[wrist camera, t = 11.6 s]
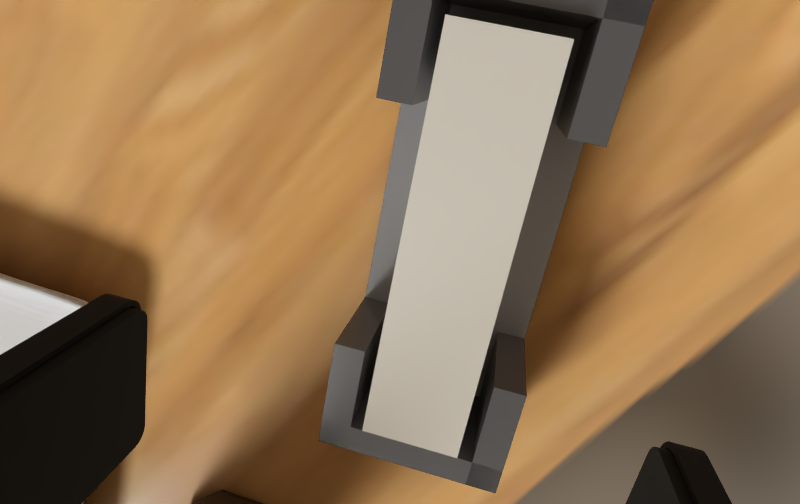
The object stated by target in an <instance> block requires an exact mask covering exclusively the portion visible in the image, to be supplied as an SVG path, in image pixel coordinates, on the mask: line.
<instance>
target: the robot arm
mask: <svg viewBox="0 0 800 504" xmlns="http://www.w3.org/2000/svg"><path fill="white" fill-rule="evenodd" d="M146 353H147V315H146V313H145V312H144V311H142V310H141V307H140V305H139V303H138V302H137V301H134V300H130V299H127V298H123V297H119V296H115V295H111V294H104V295H101V296H100V297H98V298H96V299H95V300H93V301H91V302H89V303H88V304H86V305H84V306H83V307H81V308H79V309H77V310H76V311H74V312H72V313H71V314H69V315H67V316H65V317H64V318H62V319H60V320H59V321H57V322H55V323H54V324H52V325H50V326H48V327H47V328H45V329H43V330H42V331H40V332H38V333H36V334H35V335H33V336H31V337H30V338H28V339H26V340H25V341H23V342H21V343H19V344H18V345H16V346H14V347H13V348H11V349H9V350H7V351H6V352H4V353H2V354H1V355H0V504H81V503H82V502H83V501H84V500H85V499H86V498H87V497H88V496H89V495H90V494H91V493H92V492H93V491H94V490H95V489H96V488H97V487H98V486H99V485H100V483H101V482H102V481H103V480H104V479H105V478H106V477H107V476H108V475H109V474H110V473H111V472H112V471H113V470H114V469H115V468H116V467H117V466H118V465H119V463H120V462H121V461H122V460H123V459H124V458H125V457H126V456H127V455H128V454H129V453H130V452H131V451H132V450H133V449H134V448H135V447H136V445H137V444H138V443H139V441H140V439H141V437H142V435H143V432H144V427H145V396H146ZM626 504H732V503H731V501H730V499H729V497H728V495H727V493H726V492H725V489H724V488H723V485H722V484H721V482H720V480H719V478H718V476H717V474H716V472H715V470H714V468H713V466H712V464H711V462H710V460H709V458H708V456H707V455H706V454H705V452H704V451H702V450H699V449H695V448H691V447H687V446H684V445H680V444H676V443H673V442H665V443H664V444H663V445H662V446H661V448H658V447H652V448H651V449H650V450H649V452H648V454H647V457H646V459H645V461H644V463H643V466H642V468H641V470H640V472H639V475H638V477H637V479H636V481H635V484H634V486H633V488H632V491H631V493H630V495H629V497H628V500H627V502H626Z"/></svg>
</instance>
